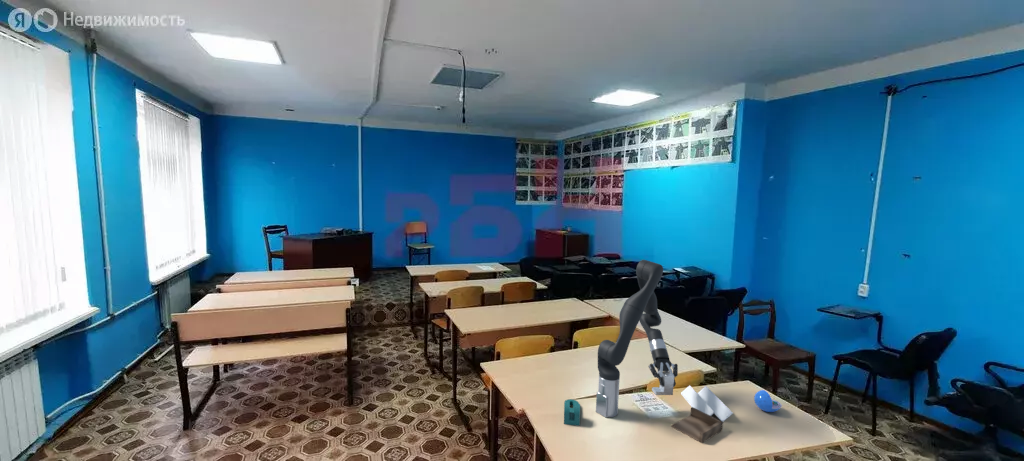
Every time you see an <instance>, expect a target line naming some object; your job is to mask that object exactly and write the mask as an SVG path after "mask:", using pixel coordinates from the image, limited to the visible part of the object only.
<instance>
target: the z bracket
mask: <svg viewBox="0 0 1024 461" xmlns="http://www.w3.org/2000/svg"><path fill="white" fill-rule="evenodd" d="M699 390H700V391H698V392H697V391H696V390H695V389H694V388H693V387H692V386H691V385H688V386H687V387H686V388H685V389H683V390H682V391H681V392H680V395H681V396H682V397H683V398H684V400H685V401H686V402H687V403H688V405H690V406H691V408H692V407H693V408H695V409H697V410H699V411H702V412H704V413H706V414H708V415H710V416H713V415H715V416H716V417H717V419H718V420H720V421H722V422H723V423H724V422H725V421H726V420H728V419H729V417H731V416H732V415H733V414H734V412H732V410H731V409H730V408H729V407H728V406H727V405H726V404H725V403H724V402H723V401H722V400H721V399H720V398H719V397H718V396H717V395H716V394H715V393H714V392H713V391H712V390H711V389H710V388H709V387H708V386H707V385H705V386H704V387H702V389H699Z"/></svg>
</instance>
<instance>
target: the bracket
mask: <svg viewBox="0 0 1024 461" xmlns="http://www.w3.org/2000/svg"><path fill="white" fill-rule="evenodd" d="M563 406H564V407H563V424H564V425H567V426H568V425H569V426H580V422H581V404H580V402H579V401H578V400H576V399H572V398H571V399H570V398H568V399H566V400H564V405H563ZM570 406H572V407H570Z"/></svg>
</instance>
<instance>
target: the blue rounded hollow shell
mask: <svg viewBox="0 0 1024 461" xmlns="http://www.w3.org/2000/svg"><path fill="white" fill-rule="evenodd" d="M753 400H754V403H755V405H756V406H757V408H758V409H759V410H762V411H763V412H766V413H774V412H778V411H780V409H781V408H782V407H783V405H782V403H781V402H779V401H777V400H775V399H773V398H772V397H771V395H770V394H769V392H767V391H766V390H764V389H761V390H758V391H757V392H756V393H755V394H754V398H753Z"/></svg>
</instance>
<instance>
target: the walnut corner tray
mask: <svg viewBox="0 0 1024 461" xmlns="http://www.w3.org/2000/svg"><path fill="white" fill-rule="evenodd" d="M670 425H671V426H670V427H672V428H674V429H676V430H677V431H679V432H681V433H682V434H684V435H686V436H688V437H690V438H691V439H693V440H695V441H697V442H699V443H700V444H703V443H705V442H706V441H708V440H709V439H711V438H713V437H714V436H716V435H718V434H719V433H722V432H723V425H724V422H722V421H721V420H720V419H719V418H716V417H714V416H713V415H711V416H710V415H708V414H706V413H704V412H702V411H699V410H697V409H695V408H693V407H691V408H690V415H688V416H686V417H684V418H682V419H680V420H678V421H677V422H674V423H672V424H670Z"/></svg>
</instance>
